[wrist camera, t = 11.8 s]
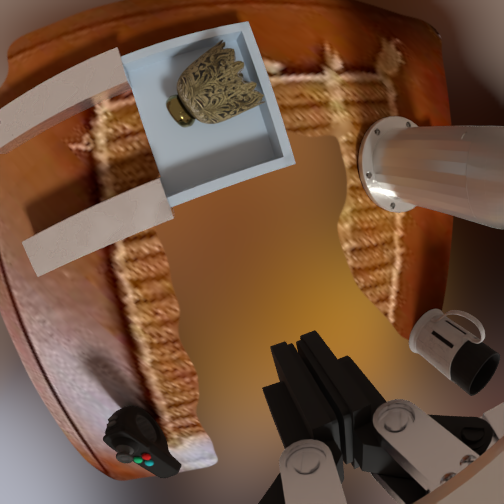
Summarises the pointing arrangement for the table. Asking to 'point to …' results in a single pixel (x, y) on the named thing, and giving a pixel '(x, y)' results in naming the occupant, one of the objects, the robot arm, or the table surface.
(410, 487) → the robot arm
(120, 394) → the table surface
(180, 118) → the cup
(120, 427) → the controller
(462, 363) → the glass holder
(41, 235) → the groove rails
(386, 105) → the table surface
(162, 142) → the tray
